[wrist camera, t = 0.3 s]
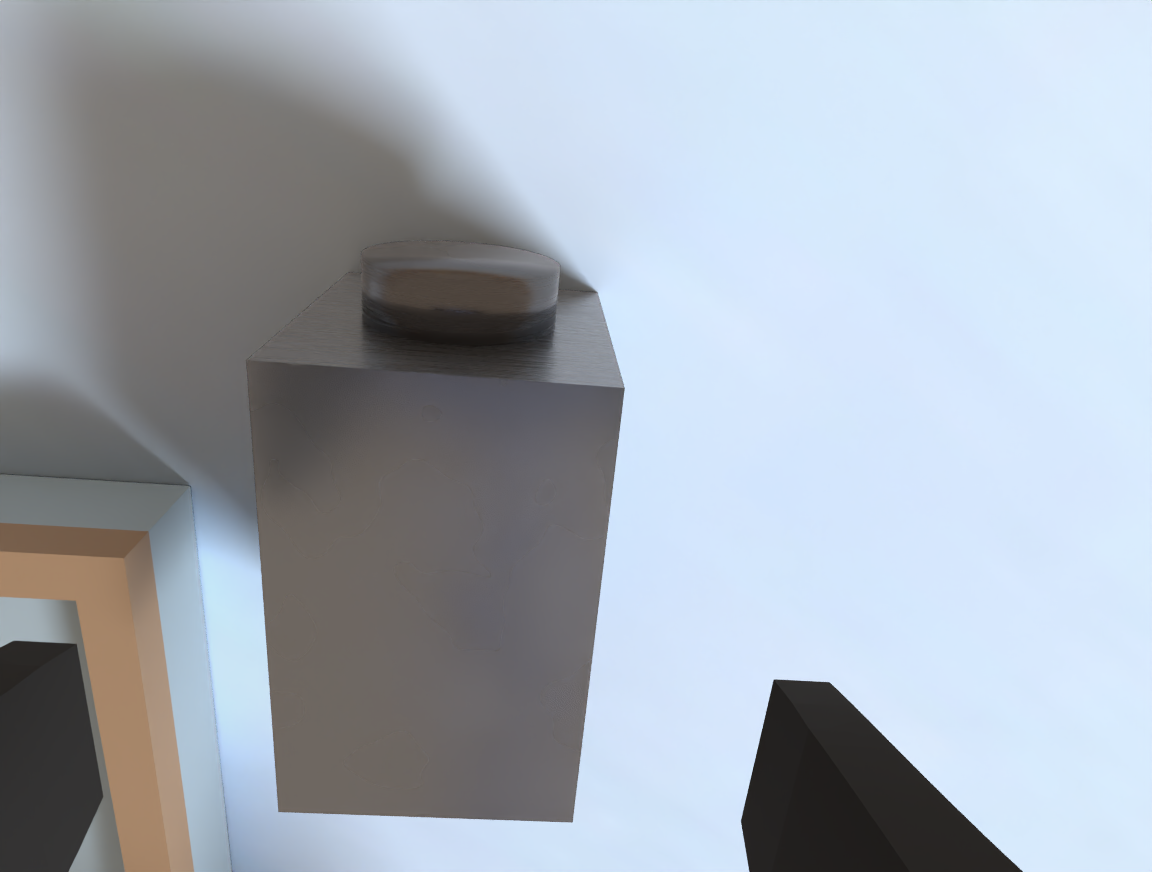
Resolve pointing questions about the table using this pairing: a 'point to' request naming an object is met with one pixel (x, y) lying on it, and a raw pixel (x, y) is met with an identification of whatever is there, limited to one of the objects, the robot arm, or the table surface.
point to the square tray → (125, 657)
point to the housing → (434, 533)
